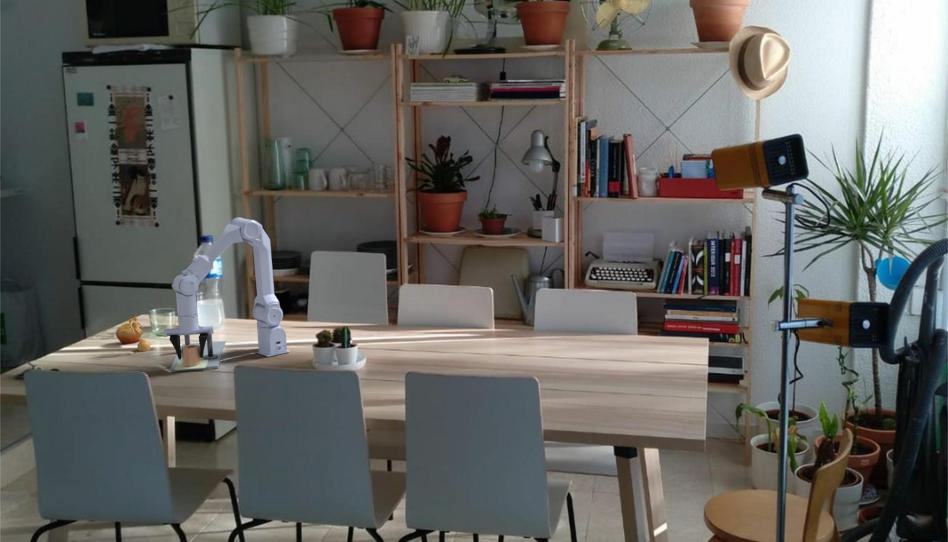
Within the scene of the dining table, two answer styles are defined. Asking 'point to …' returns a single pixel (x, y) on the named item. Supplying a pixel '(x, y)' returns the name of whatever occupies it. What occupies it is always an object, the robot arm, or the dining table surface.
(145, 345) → the figurine
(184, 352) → the octagonal hollow tube
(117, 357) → the dining table surface
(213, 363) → the board
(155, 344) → the dining table surface
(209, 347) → the posts
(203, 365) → the pad
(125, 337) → the fruit
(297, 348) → the dining table surface
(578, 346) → the dining table surface
